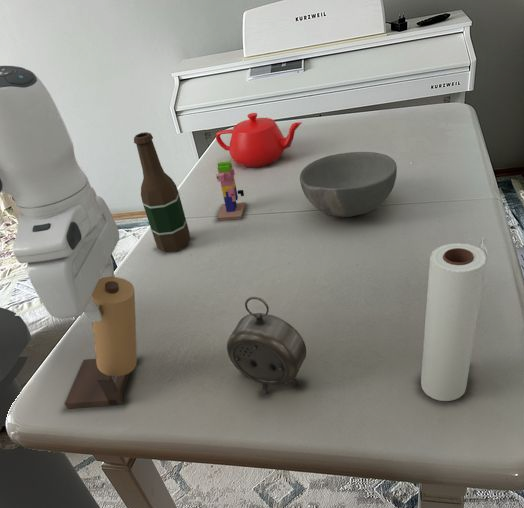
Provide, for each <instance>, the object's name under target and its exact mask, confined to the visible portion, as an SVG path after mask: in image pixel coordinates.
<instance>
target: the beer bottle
mask: <svg viewBox="0 0 524 508" xmlns="http://www.w3.org/2000/svg"><path fill="white" fill-rule="evenodd" d="M153 139H154V137H153V135H152V133H150V132H148V131H147V132H140V133H138V134H137V133H136V134H135V136H134V137H133V144H135V145H136V149H137V153H138V157H139V161H140V164H141V169H142V170H141V171H142V175H143V176H142V177H143V178H142V182H141V186H140V199H141V201H142V205H143V208H144V211H145V214H146V218H147V221H148V224H149V227H150V230H151V233H152V236H153V239H154V242H155V244H156V247H157V248H158V250H160V251H162V252H164V253H175V252H179V251H181V250H183V249H185V248H186V247H188V246H189V244H190V240H191V234H190V233H191V232H190V230H189V225H188V222H187V218H186V215H185V211H184V208H183V203H182V200H181V196H180V193H179V189H178V187H177V184H176V183H175V182H174V180H173V178H171V176H169V175H168V174H167V173H166V172H165V171H164V168H163V166H162V164H161V161H160V158H159V156H158V152H157V150H156V147H155V144H154V141H153Z"/></svg>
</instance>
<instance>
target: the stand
mask: <svg viewBox="0 0 524 508" xmlns="http://www.w3.org/2000/svg"><path fill="white" fill-rule="evenodd" d="M130 374H131V372H130V373H128V374H126V375H123V376H117V379H116V382H114V380H113V378H112V376H109V375H106V374H103V373H102V372H101V371H100V370H99V369H98V367H97V363H96V358H87V359H82V362H81V364H80V367H79V369H78V371H77V374H76V376H75V377H74V381H73V383H72V385H71V388H70V390H69V391H68V394H67V396H66V399H65V401H64V406H65V408H66V409H67V410H68V409H69V410H71V409H80V408H81V409H82V408H94V407H95V408H97V407H108V406H109V407H110V406H121V405H123V403H124V399H123V395H124V391H125V388H126V386H127V382H128V380H129V376H130Z"/></svg>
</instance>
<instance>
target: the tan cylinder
mask: <svg viewBox="0 0 524 508" xmlns="http://www.w3.org/2000/svg"><path fill="white" fill-rule="evenodd" d="M135 292H136V291H135V286H134V284H133V283H132V282H130V281H128V280H127V279H125V278H122V277H116V276H115V277H107V278H102V279H101V278H100V279H99V282H98V284H97V286H96V288H95V290H94V292H93V294H92V296H93V301H92V302H93V303H94V304H95V305H99V304H100V305H101V307H102V310H103V312H104V314H103V317H102V319H101V321H99V322H91V323H92V332H93V342H94V351H95V359H96V363H97V367H98V369H99V370H100V371H101V372H102V373H103V374H106V375H109V376H112V378H113V380H114V382H116V379H117V376H123V375H126V374H128V373H130V374H131V372H133V371H134V370H135V368H136V367H137V363H138V361H137V360H138V359H137V329H136V327H137V325H136V323H137V322H136V297H135V296H136V294H135Z"/></svg>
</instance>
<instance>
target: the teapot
mask: <svg viewBox="0 0 524 508" xmlns="http://www.w3.org/2000/svg"><path fill="white" fill-rule="evenodd" d="M246 116H247V119H245V120H242V121H240V122H238V123H237V124H235V125H234V126H233V128H232V129H222V130H219V131H218V132H216V133H215V140H216V142H217V144H218V145H219V146H220V147H221V148H222V149H223V150H224V151H228V152H229V155H230V157H231V159H232V160H233V161H234V162H235V163H236V164H238V165H240V166H243V167H246V168H261V167H266V166H269V165H271V164H273V163H275V162H276V161H277V160H278V159H279V158H280V157H282V156H283V153H284V151H285V150H286V149H288V148H291V146H292V143H293V141H294V137H295V133H296V130H297V129H298V128H299V127H300V125H301V124H303V122H301V121H299V122H298V121H297V122H294V123H292V124H290V127H289V128H288V129H289V130H288V133H287V135H286V137H284V134H283V133H282V131H281V129H280V128H279V125H278V124H277V123H276V121H275V120H274V119H272V118H271V117H258V113H257V112H251V113H248V114H247V115H246ZM226 134H227V135H228V134H231V137H230V141H229V145H227V144H226V143H225V142H224V141H223V139H222V137H221V135H226Z"/></svg>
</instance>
